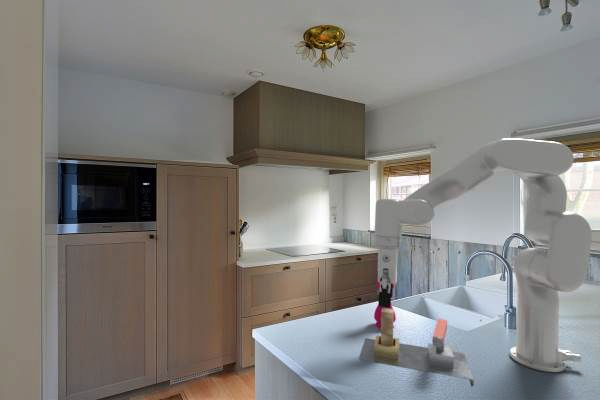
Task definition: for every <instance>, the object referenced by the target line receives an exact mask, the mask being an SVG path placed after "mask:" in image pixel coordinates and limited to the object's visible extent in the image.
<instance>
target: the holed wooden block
mask: <svg viewBox="0 0 600 400" xmlns="http://www.w3.org/2000/svg"><path fill="white" fill-rule="evenodd" d="M374 339H375V343H374V355H375V356H380V357H386V358H392V359H398V360H399V343H400V338H397V337H393V346H389V345H383V344H381V335H378V334H377V335H376V336H375V338H374Z"/></svg>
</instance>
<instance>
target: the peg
mask: <svg viewBox="0 0 600 400" xmlns="http://www.w3.org/2000/svg"><path fill="white" fill-rule="evenodd" d="M393 312H395V310H394V308H393V309H387V308H382V311H381V329H380V336H381V344H383V345H389V346H393V338H394V328H393V324H394V323H393Z"/></svg>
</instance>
